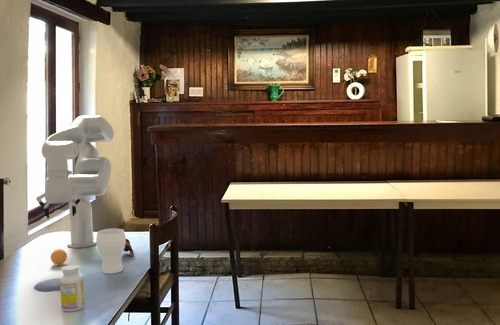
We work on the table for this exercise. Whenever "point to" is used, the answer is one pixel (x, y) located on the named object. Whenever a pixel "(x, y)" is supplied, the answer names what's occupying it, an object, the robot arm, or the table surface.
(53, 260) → the ball
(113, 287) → the table surface
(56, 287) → the disc
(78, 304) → the supplement bottle
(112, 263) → the cup
